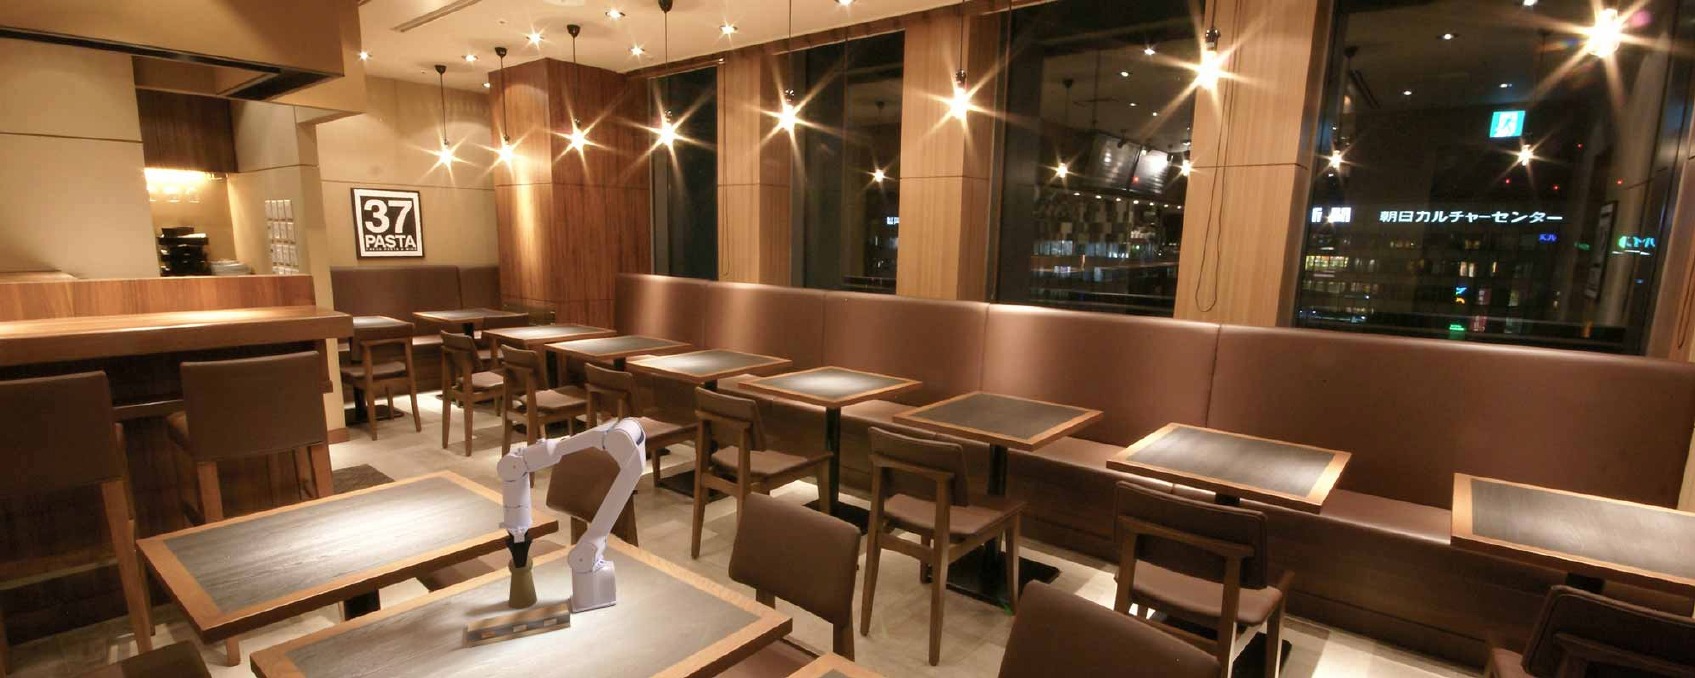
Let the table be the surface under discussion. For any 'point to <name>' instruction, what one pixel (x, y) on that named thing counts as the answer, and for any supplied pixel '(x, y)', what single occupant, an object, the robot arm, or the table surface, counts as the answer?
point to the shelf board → (517, 625)
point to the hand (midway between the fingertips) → (520, 559)
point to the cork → (521, 586)
